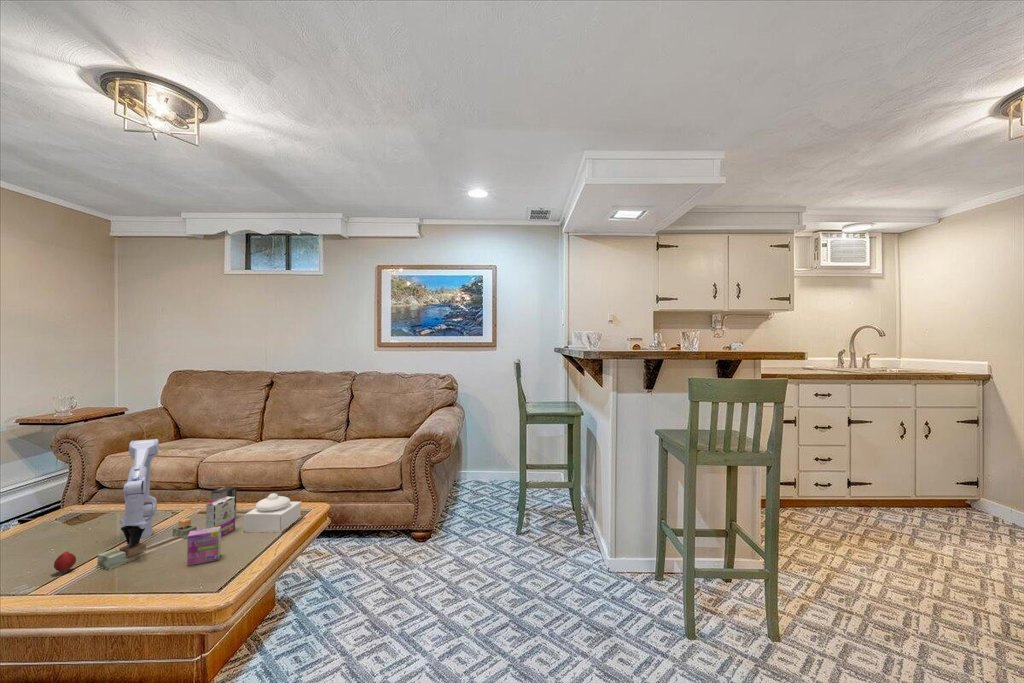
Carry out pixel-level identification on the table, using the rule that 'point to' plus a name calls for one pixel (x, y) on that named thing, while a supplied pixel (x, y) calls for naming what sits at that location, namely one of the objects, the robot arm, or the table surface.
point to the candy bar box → (221, 515)
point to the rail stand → (120, 558)
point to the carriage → (133, 548)
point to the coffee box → (224, 494)
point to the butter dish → (272, 514)
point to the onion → (64, 562)
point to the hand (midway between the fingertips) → (133, 543)
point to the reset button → (184, 523)
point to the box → (203, 545)
